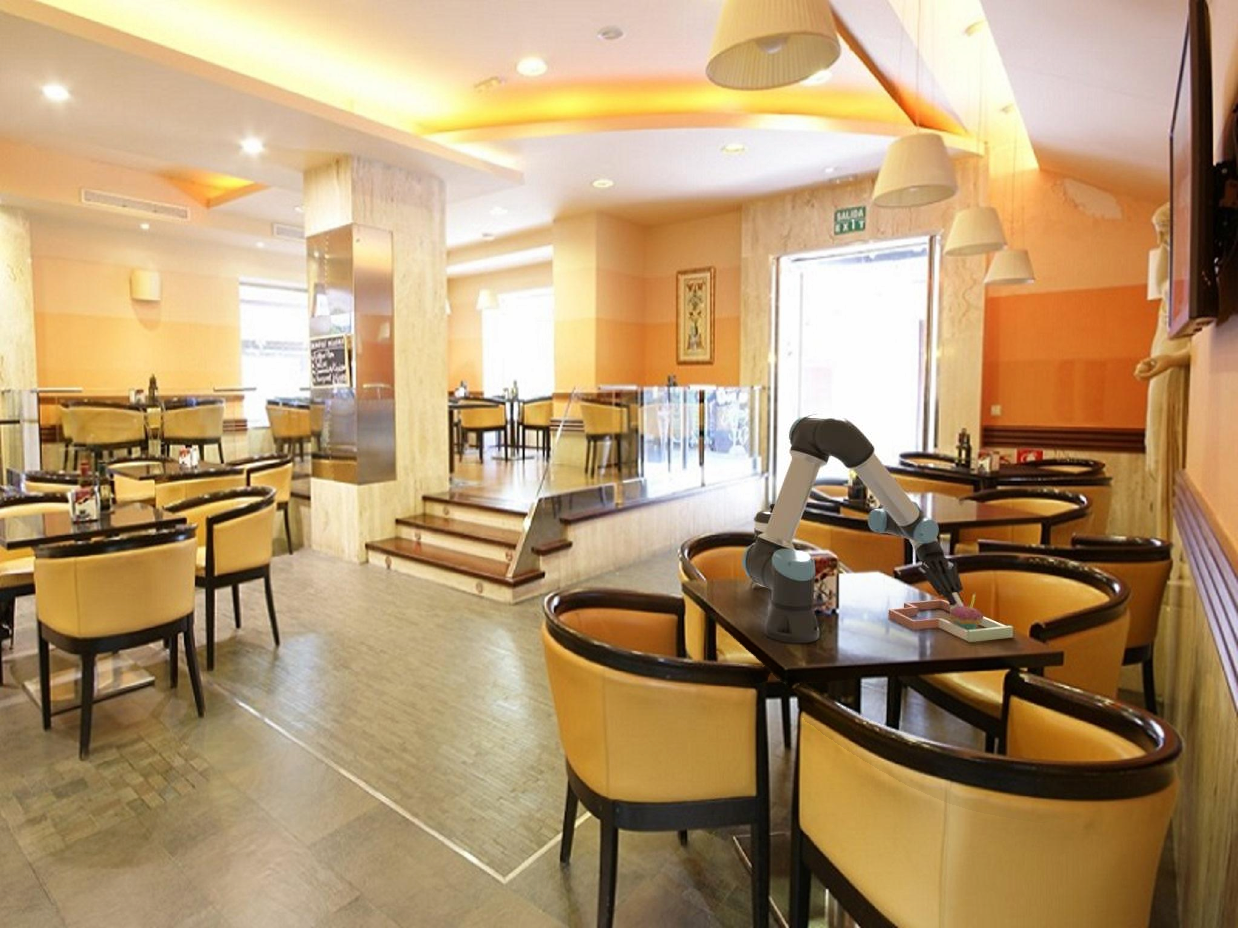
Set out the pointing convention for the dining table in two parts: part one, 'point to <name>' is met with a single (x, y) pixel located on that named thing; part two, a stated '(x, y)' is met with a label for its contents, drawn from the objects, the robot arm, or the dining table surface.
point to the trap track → (911, 609)
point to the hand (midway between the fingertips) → (962, 614)
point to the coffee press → (761, 528)
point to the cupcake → (966, 616)
